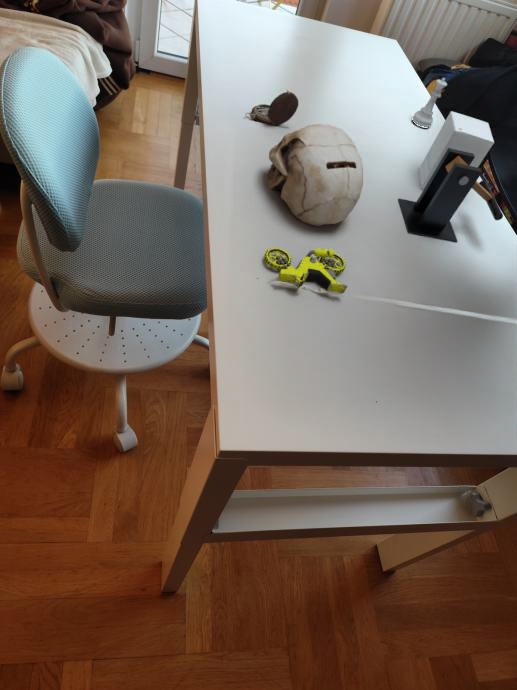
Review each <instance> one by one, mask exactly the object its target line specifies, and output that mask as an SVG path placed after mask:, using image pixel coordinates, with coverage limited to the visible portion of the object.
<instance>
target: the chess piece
mask: <svg viewBox="0 0 517 690" xmlns="http://www.w3.org/2000/svg"><path fill="white" fill-rule="evenodd" d="M445 80H446V78H445V77H442V78H441V79H440V78H439V79H436V81H435V83H436V84H435V85H436V86H435V88H434V89H431V90H430V94H429V95H431V96H430V98H429V99H428V101H427V103H426V104H425V105H424V106H423V107H421V108H420V110H418V111H416V112H415V113H414V115H413V116H412V118H413V121H414V122H415V123H416V124H418V125H420V126H424V127H429V126H430V127H431V126H432V124H433V122H434V119H433V118H434V117H433V115H434V111H433V110H434V107H435V104H436V102H437V99H439V98H441V97H442V90H443V89H444V88H446V87H447V86H448V83H447V82H446V81H445Z"/></svg>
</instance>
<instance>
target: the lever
mask: <svg viewBox="0 0 517 690" xmlns="http://www.w3.org/2000/svg"><path fill="white" fill-rule="evenodd" d="M454 163H459V164H463V165H468V164H467V163H466V162H465V161H464V160H463V159H462V158H460V157H459V156H457V157H456V158H455V159H454V160H453V161H451V162H450V163H449V164H448V165H446V166H445V167H446V169H447V172H448V173H449V171H450V170H451V168H452V166H453V165H454ZM468 166H469V165H468ZM471 190H473V191H474V192H475V193H476V194H477V195H479V196H480V197H481V198H482V199H483V200H484V201H485V202H486V205H487V207H488V209H489V211H490V213H491V215H492V217H493V219H494V220H495V221H500V220H502V219H503V218H504V214H503V211H502V209H501V208H500V206H499V204H498V201H497V200H496V198H495V196H494V194H493V192H492V190H491V188H490V186H489V183H488V182H487V181H486V180H480V181H479V182H478V180H477V181H476V182H475V184H474V185H473V187H472V188H471Z"/></svg>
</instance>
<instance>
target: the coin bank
mask: <svg viewBox="0 0 517 690" xmlns="http://www.w3.org/2000/svg"><path fill="white" fill-rule="evenodd" d="M268 159H269V161H270V162H271V163H272V164H271V165H270V168H269V170H268V171H267V181H266V184H267V185H268V188H269V189H271V190H274V191H279V192H280V193H281V194H280V198H281V200H283V201H284V202H285V203H286V204H287V207H288V208H289V210H290V212H291V214H292V215H293V216H294V217H295V218H296V219H298V220H299V221H301V222H302V223H305V224H308V225H311V226H314V227H320V226H324V225H326V226H327V225H328V226H329V225H335V224H338V223H340V222H343V221H344V220H345V219H347V218H348V217H349V215H350V214H351V213H352V211H353V210H354V208H355V206H356V205H357V203H358V201H360V197H361V194H362V191H363V185H364V165H363V161H362V157H361V155H360V154H359V151H358V149H357V147H356V144H355V142H354V141H353V140H352V139H351V136H349V135H348V134H347V132H346V131H345V130H344V129H343V128H342V127H341V128H340V127H338V126H336V125H330V124H324V123H323V124H321V123H319V124H308V125H305V126H304V127H301V128H299V129H298V130H294V131H293V132H289V133H286V134H285V135H284V136H283V137H282V138H281V140H280V141H279V142H278V144H276V145H274V146H273V147H271V149H270V150H269V152H268Z"/></svg>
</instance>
